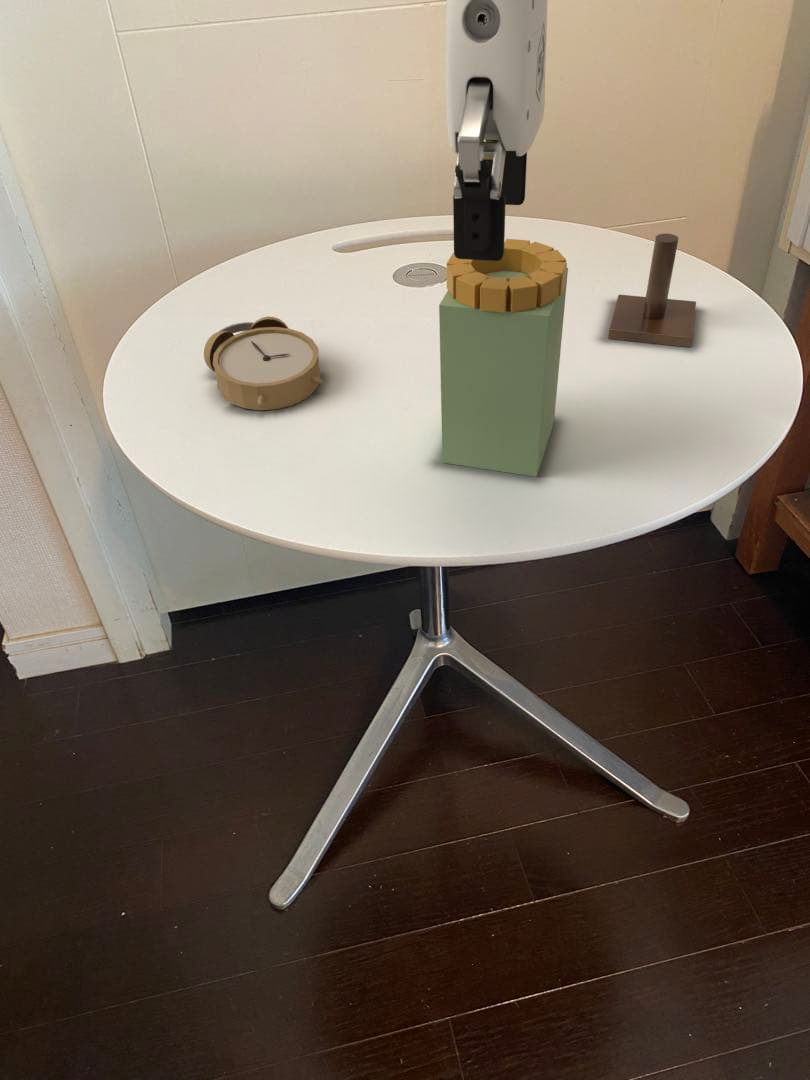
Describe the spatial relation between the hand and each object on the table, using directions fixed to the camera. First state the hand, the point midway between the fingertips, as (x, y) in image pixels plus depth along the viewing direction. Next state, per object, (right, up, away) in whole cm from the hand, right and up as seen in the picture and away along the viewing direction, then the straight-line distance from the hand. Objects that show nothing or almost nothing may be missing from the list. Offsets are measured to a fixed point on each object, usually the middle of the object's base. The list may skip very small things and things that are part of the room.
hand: (491, 228), depth 56 cm
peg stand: (+23, +3, +38) cm, 44 cm away
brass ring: (+2, 0, +11) cm, 11 cm away
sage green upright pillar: (+3, -12, +22) cm, 25 cm away
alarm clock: (-22, -4, +34) cm, 40 cm away
